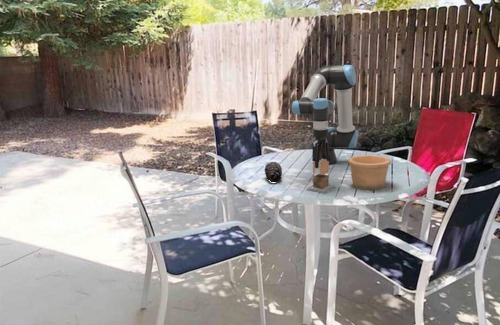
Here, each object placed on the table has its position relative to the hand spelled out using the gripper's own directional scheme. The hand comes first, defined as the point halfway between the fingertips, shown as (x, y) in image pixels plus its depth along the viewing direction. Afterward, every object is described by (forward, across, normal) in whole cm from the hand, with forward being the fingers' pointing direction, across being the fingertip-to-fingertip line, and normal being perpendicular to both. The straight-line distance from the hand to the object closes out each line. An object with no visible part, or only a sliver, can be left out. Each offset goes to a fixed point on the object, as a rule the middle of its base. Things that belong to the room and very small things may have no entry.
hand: (320, 172), depth 215 cm
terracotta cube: (0, 0, 0) cm, 0 cm away
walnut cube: (+8, 0, 0) cm, 8 cm away
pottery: (+9, +18, -19) cm, 28 cm away
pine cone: (+9, +2, +31) cm, 33 cm away
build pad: (+9, 0, 0) cm, 9 cm away
